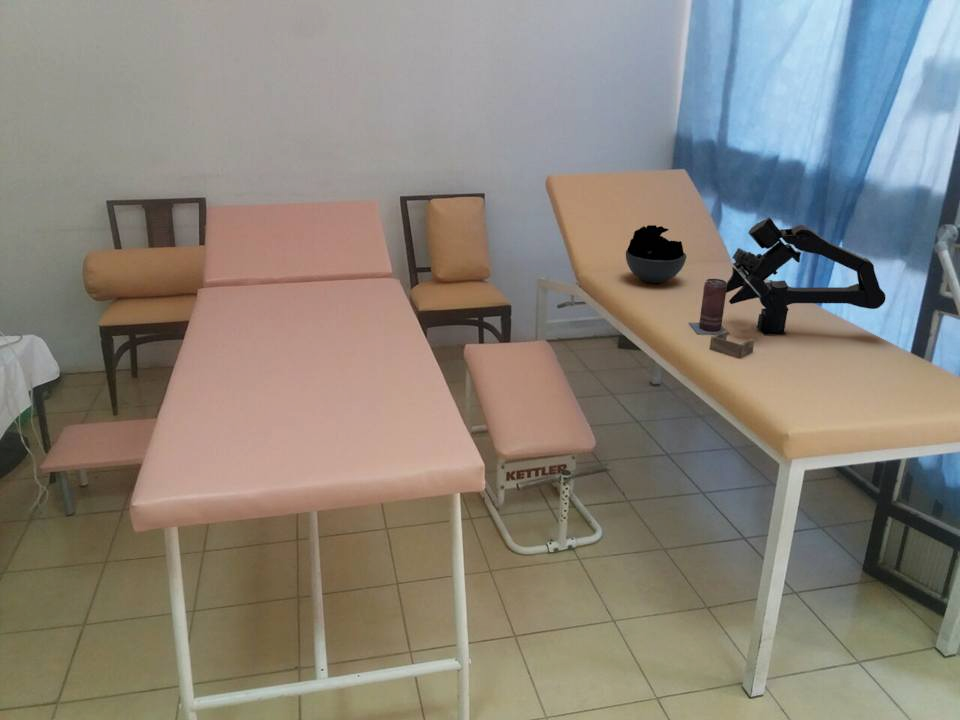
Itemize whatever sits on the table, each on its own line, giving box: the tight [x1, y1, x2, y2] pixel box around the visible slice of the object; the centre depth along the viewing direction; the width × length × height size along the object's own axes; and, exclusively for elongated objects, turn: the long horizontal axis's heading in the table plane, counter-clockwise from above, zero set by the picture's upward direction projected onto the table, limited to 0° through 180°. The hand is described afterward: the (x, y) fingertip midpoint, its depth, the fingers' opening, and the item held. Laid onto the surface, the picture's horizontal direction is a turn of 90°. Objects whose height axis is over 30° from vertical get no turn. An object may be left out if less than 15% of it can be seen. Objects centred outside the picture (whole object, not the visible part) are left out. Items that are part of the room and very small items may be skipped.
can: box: [698, 278, 727, 331], centre depth 220 cm, size 6×6×14 cm
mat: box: [688, 322, 730, 335], centre depth 223 cm, size 9×9×1 cm
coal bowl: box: [625, 224, 687, 284], centre depth 262 cm, size 20×20×19 cm
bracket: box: [709, 330, 756, 359], centre depth 208 cm, size 7×9×4 cm
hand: (725, 297), depth 219 cm, fingers open, 9 cm apart
